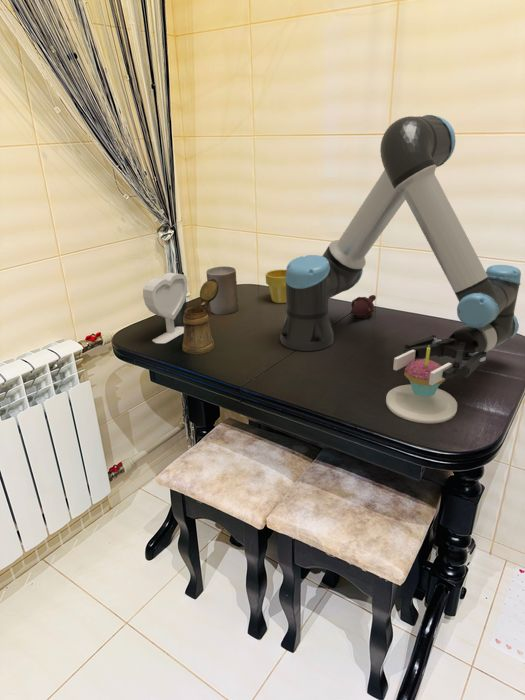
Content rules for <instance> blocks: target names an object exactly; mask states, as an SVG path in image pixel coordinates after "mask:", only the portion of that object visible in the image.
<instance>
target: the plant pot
mask: <svg viewBox="0 0 525 700" xmlns="http://www.w3.org/2000/svg"><path fill="white" fill-rule="evenodd" d="M285 276H286V269H281V268H280V269H273V270H269V271H267V272H266V273H265V283H266V285H267V287H268V290H269V294H270V297H271V301H272V302H274V303H276V304H286V280H285Z"/></svg>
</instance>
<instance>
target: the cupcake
mask: <svg viewBox="0 0 525 700" xmlns="http://www.w3.org/2000/svg"><path fill="white" fill-rule="evenodd" d="M429 346H430V345H429ZM429 346H428V348H427V352H426V357H424V358H419V359H415V361H412V362H411V363H409V364H407V366H405V368H404V373H403V374H404V377H406V378H407V379H408V380H409V382H410V384H411V386H412V391H413V392H414V393H415V394H416V395H419V396H424V397H428V396H432V395H434V394H435V392H436V390H437V388H438V389H439V386H440V385H441V384H443V383H444V382H445V381H446V379H443V380H441V381H439V382H437V383H436V384H434V385H430V384H429V379H430V372H432V371H434V370H436V369H438V368H439V367H441V366H443V365H442V364H440V363H438V362H437V361H434V360H433V359H430V357H429V355H430V348H429Z"/></svg>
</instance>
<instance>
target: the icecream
mask: <svg viewBox="0 0 525 700" xmlns="http://www.w3.org/2000/svg"><path fill="white" fill-rule="evenodd" d="M376 298H377V295H375V294H372V295H369V296H368V297H367V296H357V297H356V298H354V299H353V300H351V305H350V306H351V310H350V314H351V315H355V316H356V317H357V318H358V319H367V318H368V317H370V316H371V315H372V313H373V312H374V309H375V304H374V303H373V302H374V301H375V300H376Z"/></svg>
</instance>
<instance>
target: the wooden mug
mask: <svg viewBox="0 0 525 700" xmlns="http://www.w3.org/2000/svg"><path fill="white" fill-rule="evenodd" d="M218 289H219V286H218V283H217V281H216V280H215V279H214V278H213V279H210V280H208V281H205V282H204V283H203V284H202V286H201V287H200V291H199V297H200V300H201V301H200V304H199V307H195V306H194V307H189V308H185V309H184V313H183V316H182V317H183V318H182V319H183V320H182V323H183V327H184V333H183V341H182V346H181V347H182V351H183V352H184V353H186V354H189V355H202V354H207V353H210V352H211V351H212V350H213V349H214V348H215V342H214V339H213V337H212V333H211V328H210V322H211V318H212V317H211V316H212V312H211V307H210V304H209V303H210V302H211V301H212V300H213V299H215V297H216V296H217V293H218Z"/></svg>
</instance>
